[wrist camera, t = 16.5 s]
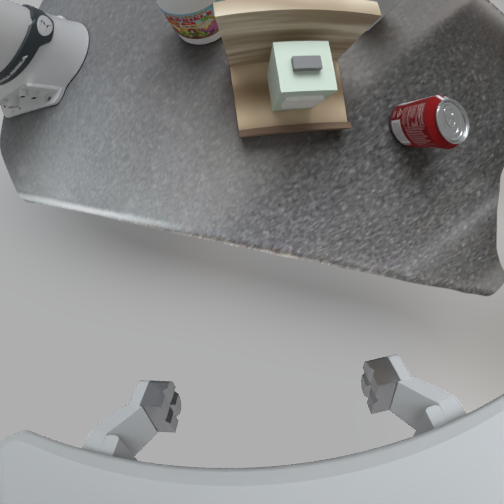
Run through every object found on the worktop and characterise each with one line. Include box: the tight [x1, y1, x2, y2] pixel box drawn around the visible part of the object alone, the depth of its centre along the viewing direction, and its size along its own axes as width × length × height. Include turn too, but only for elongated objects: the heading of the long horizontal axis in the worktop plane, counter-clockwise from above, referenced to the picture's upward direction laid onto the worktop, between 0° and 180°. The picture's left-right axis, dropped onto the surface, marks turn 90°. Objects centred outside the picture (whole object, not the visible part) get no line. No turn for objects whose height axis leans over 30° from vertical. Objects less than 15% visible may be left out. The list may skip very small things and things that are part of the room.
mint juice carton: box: [267, 41, 338, 112], centre depth 26 cm, size 5×5×13 cm
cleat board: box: [213, 0, 382, 139], centre depth 26 cm, size 11×14×18 cm
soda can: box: [390, 95, 469, 149], centre depth 29 cm, size 7×7×12 cm
